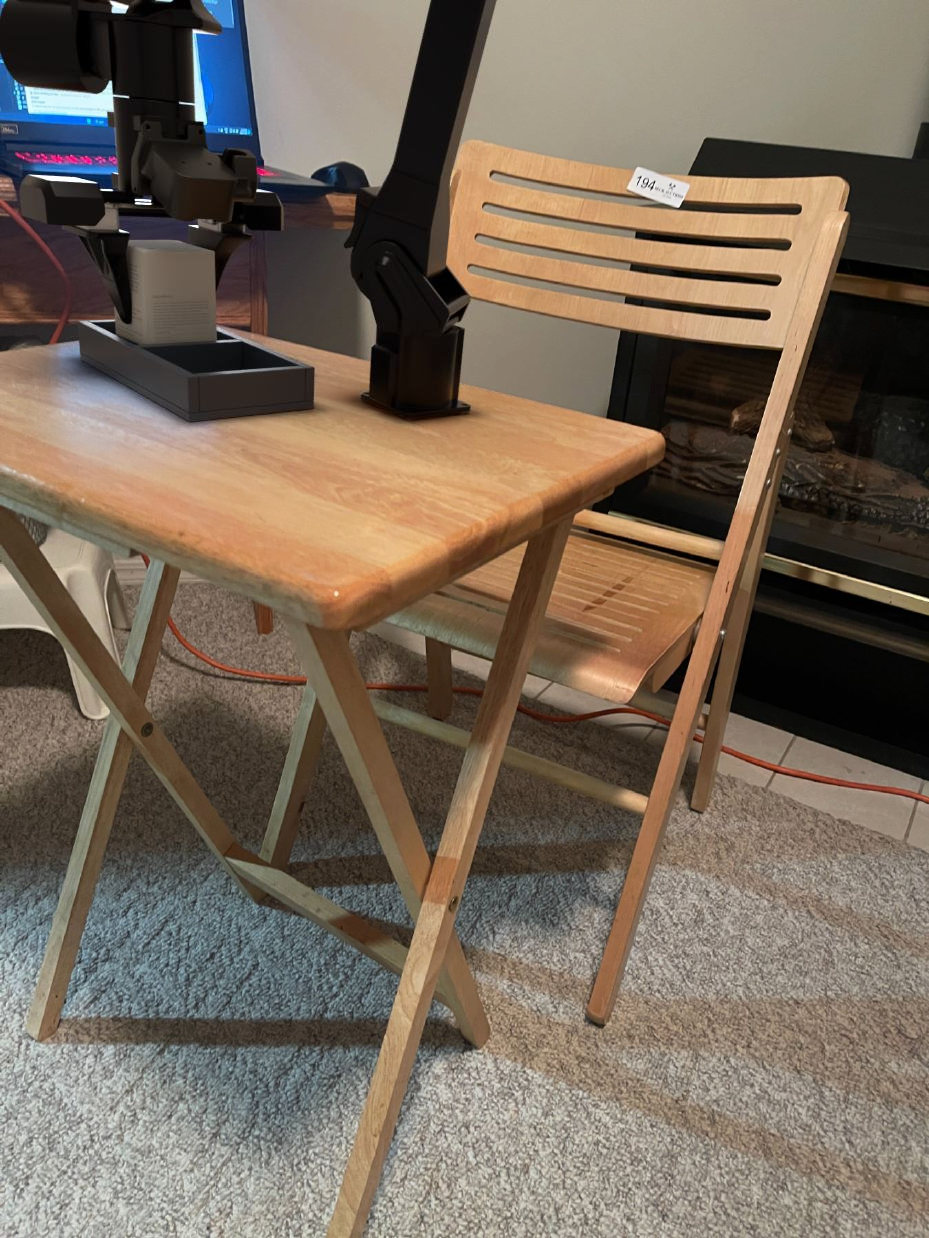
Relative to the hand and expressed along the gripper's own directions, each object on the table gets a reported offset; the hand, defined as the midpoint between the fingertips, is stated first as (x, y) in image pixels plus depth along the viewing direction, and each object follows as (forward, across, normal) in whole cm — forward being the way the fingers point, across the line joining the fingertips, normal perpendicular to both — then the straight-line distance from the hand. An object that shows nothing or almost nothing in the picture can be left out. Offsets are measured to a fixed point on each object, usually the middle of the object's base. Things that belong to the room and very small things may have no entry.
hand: (165, 322), depth 75 cm
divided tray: (+4, 0, -4) cm, 6 cm away
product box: (+2, 0, 0) cm, 2 cm away
